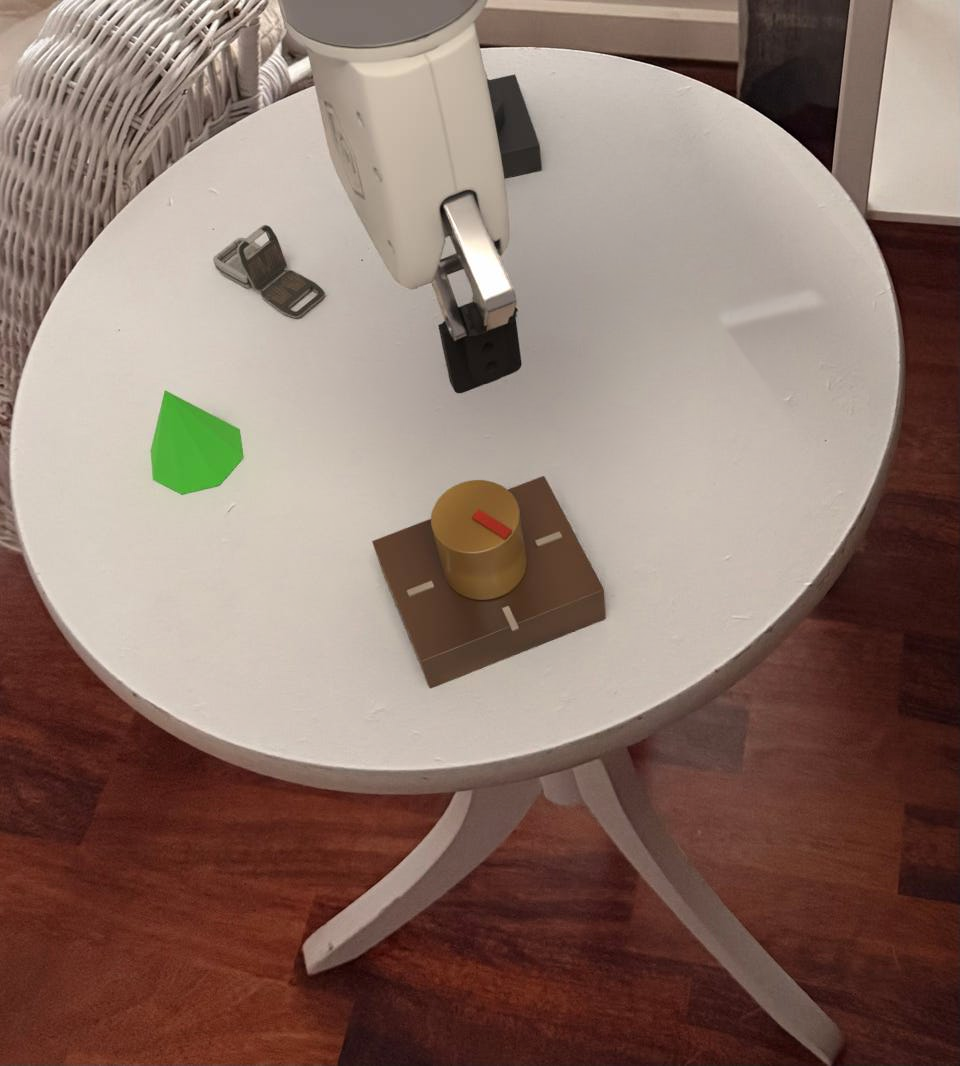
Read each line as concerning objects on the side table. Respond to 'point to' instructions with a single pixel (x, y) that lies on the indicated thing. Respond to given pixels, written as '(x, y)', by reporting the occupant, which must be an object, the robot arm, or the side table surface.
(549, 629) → the panel
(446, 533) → the knob
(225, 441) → the gemstone
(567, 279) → the side table surface
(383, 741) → the side table surface
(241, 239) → the strap clip
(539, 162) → the button box
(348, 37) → the robot arm
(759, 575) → the side table surface
